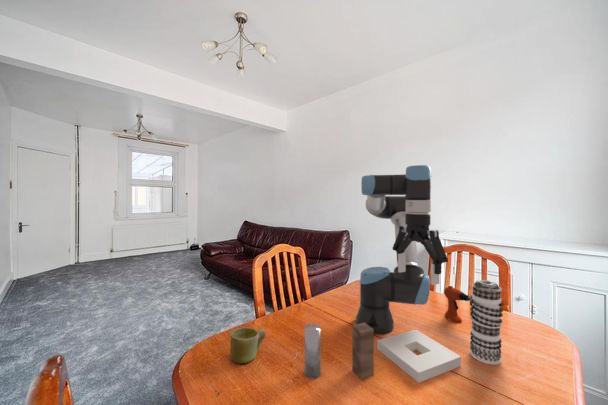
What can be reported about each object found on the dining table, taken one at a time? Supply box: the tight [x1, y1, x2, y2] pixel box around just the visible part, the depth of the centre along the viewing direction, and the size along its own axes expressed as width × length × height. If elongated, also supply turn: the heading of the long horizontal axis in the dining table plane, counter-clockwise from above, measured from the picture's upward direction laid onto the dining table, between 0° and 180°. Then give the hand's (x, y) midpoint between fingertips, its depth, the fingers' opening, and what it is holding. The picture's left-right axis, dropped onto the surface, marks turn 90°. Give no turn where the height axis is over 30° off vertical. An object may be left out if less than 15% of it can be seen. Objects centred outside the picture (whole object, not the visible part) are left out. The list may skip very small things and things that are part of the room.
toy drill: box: [443, 285, 473, 324], centre depth 107 cm, size 5×18×14 cm, turn 8°
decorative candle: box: [469, 279, 505, 366], centre depth 86 cm, size 9×9×25 cm
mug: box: [229, 327, 266, 364], centre depth 87 cm, size 12×10×10 cm
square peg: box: [351, 323, 375, 381], centre depth 78 cm, size 4×4×14 cm
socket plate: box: [376, 329, 462, 383], centre depth 86 cm, size 18×18×3 cm
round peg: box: [304, 323, 322, 379], centre depth 78 cm, size 5×5×14 cm
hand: (417, 277), depth 85 cm, fingers open, 13 cm apart
